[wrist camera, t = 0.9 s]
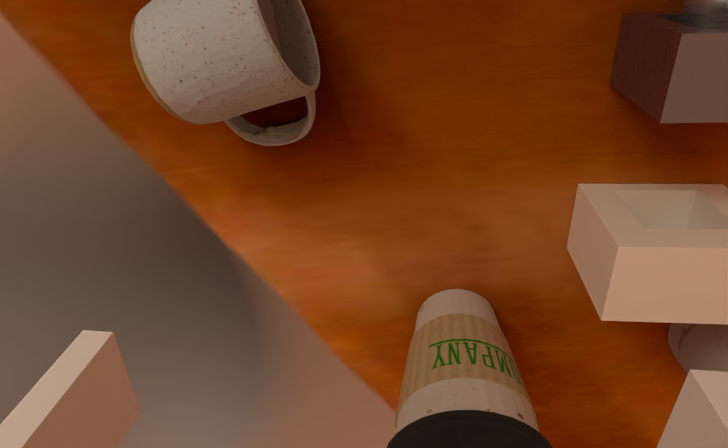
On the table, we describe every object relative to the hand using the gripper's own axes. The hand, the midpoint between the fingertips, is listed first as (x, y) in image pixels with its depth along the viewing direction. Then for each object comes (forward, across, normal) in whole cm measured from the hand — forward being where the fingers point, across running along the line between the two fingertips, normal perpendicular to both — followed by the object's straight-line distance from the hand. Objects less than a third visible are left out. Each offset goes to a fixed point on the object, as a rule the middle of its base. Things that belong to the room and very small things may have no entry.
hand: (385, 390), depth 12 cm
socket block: (+23, +16, -7) cm, 29 cm away
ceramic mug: (+24, -9, +3) cm, 26 cm away
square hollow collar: (+23, +16, +4) cm, 28 cm away
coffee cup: (+23, +4, -17) cm, 29 cm away
